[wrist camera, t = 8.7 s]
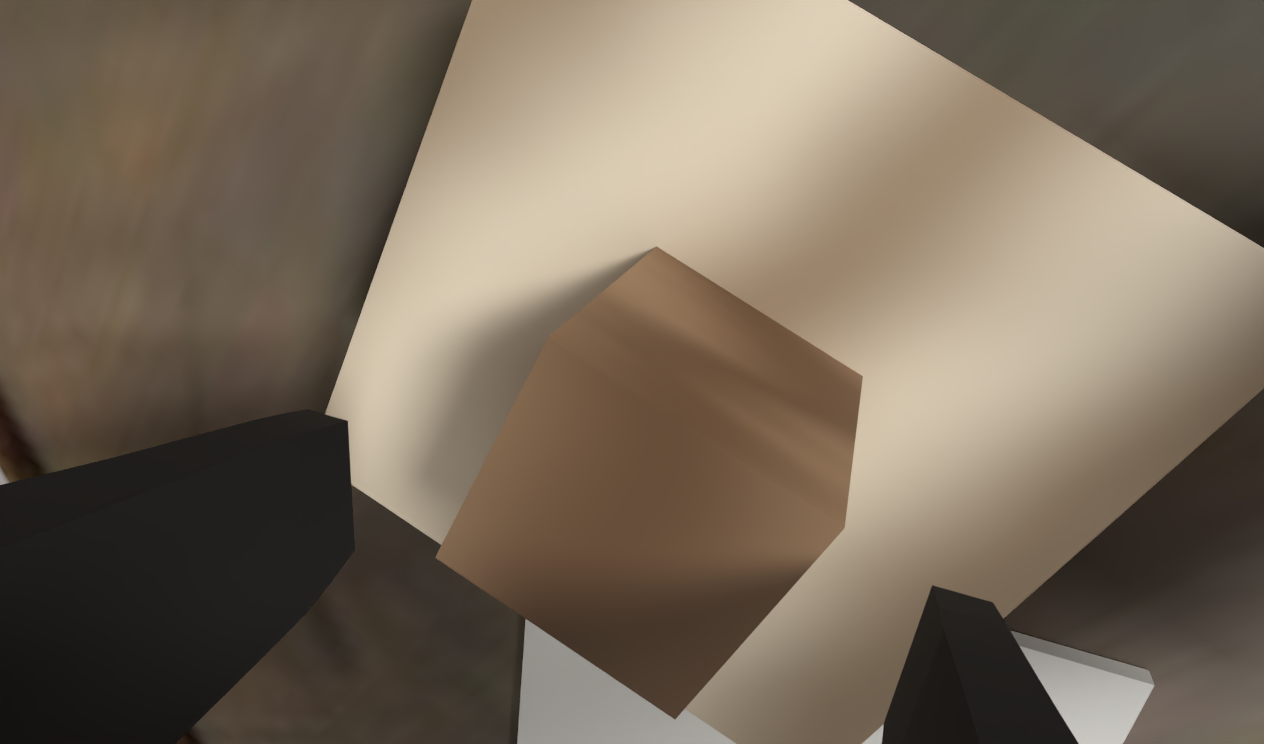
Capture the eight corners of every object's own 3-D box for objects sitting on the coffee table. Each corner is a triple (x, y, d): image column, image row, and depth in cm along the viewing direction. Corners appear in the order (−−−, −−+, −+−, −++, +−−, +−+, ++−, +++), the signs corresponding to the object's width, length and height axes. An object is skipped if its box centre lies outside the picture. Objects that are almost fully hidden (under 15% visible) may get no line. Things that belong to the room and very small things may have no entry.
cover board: (1329, 287, 11) (1644, 470, 6) (811, 760, 17) (777, 1028, 12) (559, -172, 12) (334, -310, 7) (332, 440, 18) (134, 579, 13)
